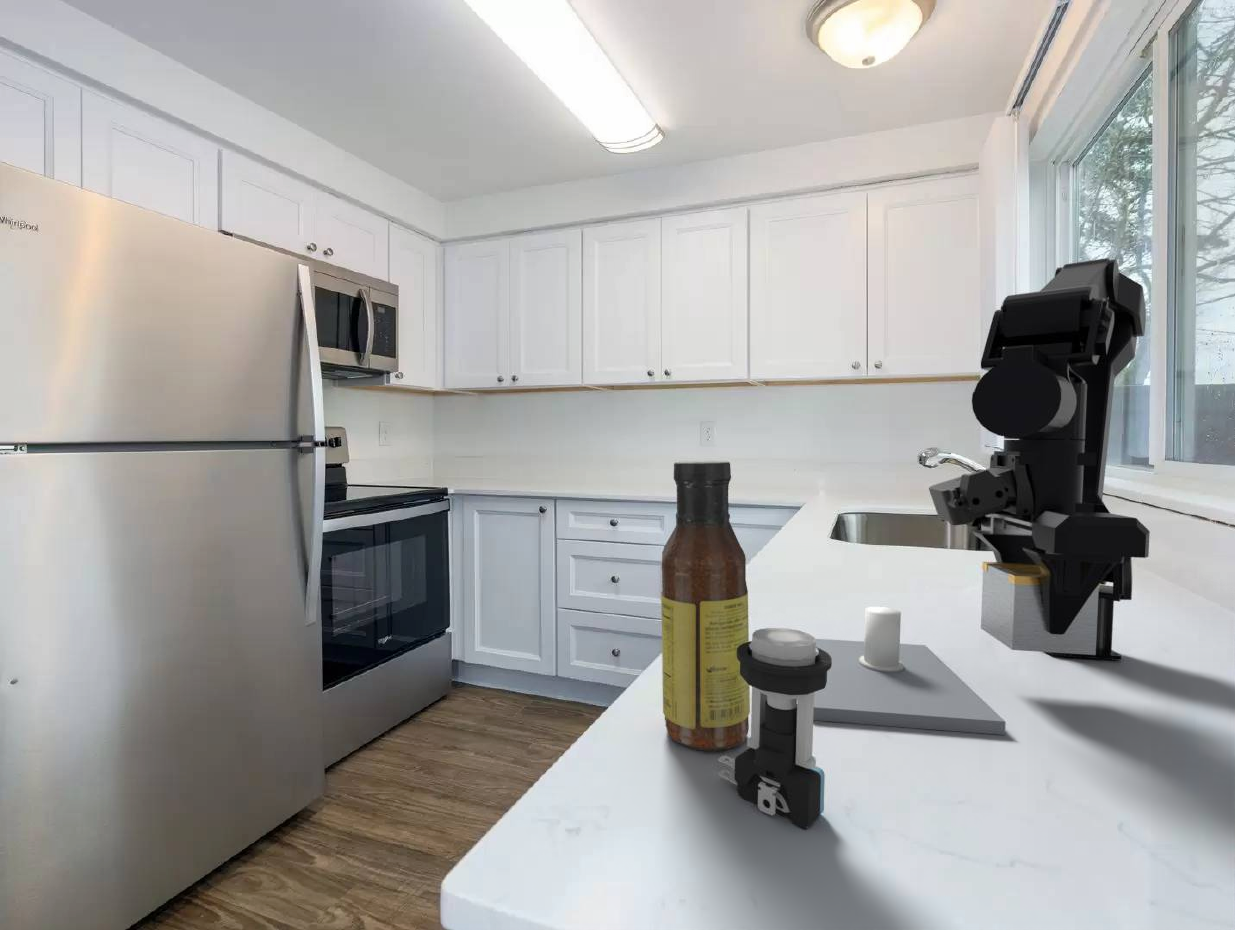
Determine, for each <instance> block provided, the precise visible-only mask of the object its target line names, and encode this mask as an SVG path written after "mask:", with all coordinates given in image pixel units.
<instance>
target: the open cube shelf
mask: <svg viewBox="0 0 1235 930" xmlns="http://www.w3.org/2000/svg"><path fill="white" fill-rule="evenodd" d="M981 564H982V567H981V569H982V588H981V589H982V590H981V591H982V592H981V612H980V613H981V614H980V616H981V617H980V629H981V630H983V631H984V632H985V633H987V634H988V635H990V636H991V637H993V639H995V640H997V641H999V642H1000V643H1002V644H1003V645H1005V647H1007V648H1009V649H1010V650H1011V651H1023V652H1025V651H1027V652H1041V653H1048V652H1055V653H1071V654H1088V655H1096V636H1097V614H1098V592H1099V588H1100V585H1101V584H1099V585H1098V586H1097V587H1096V589H1095V590H1094V591H1093V593H1092V594H1091V596H1090V597H1089V598H1088V600H1087V601H1086V603H1085V604H1084V606H1083V607H1082V609H1081V610H1080V612H1079V613H1078V614H1077V616H1076V617H1075V619H1074V620H1073V622H1072V623H1071V625H1070V626H1069V628H1068V629H1067V631H1066V632H1065V633H1064V634H1062V635H1059V634H1051V633H1049V632H1048V631H1047V625H1046V619H1045V611H1044V600H1043V590H1042V579H1041V570H1040V568H1039V566H1038V565H1037V564H1026V563H1002V562H996V561H982V563H981Z"/></svg>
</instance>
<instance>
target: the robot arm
mask: <svg viewBox="0 0 1235 930" xmlns="http://www.w3.org/2000/svg"><path fill="white" fill-rule="evenodd" d="M1146 311H1147V310H1146V301H1145V294H1144V288H1143V286H1142V285H1141V284H1140V283H1138V281H1135V280H1133V279H1132V278H1130V277H1128V276H1126V275H1124V274H1122V273H1121V272H1120V270H1119V265H1118V260H1117V259H1116V258H1115V259H1109V258H1108V257H1107V258H1099V259H1093V260H1092V259H1091V260H1085V261H1078V262H1073V263H1066V264H1064V265H1062V266H1061V267H1056V269H1055V272H1054V276H1053V278H1052V279H1051V280H1050V281H1049V282H1047V284H1046V285H1044V287H1042V289H1040V290H1038V291H1032V292H1023V293H1019V294H1017V293H1016V294H1011V295H1010V294H1009V295H1007V296H1006V297H1005V298H1004V299H1003V301H1002V302H1001V305H1000V309H996V310H995V311H994V313H993V316H992V320H991V324H990V327H989V331H988V335H987V338H986V342H985V345H984V348H983V349H984V350H983V352H982V357H981V360H980V368H981V369H982V370H984V371H987V372H985V374H983V375H982V376H981V378H980V379H979V380H978V382H977V384H976V386H975V388H974V391H973V392H972V394H971V395H972V396H971V405H972V406H971V407H972V412H973V414H974V417H975V419H976V420H977V421H978V422H979V424H980V425H981V426H982V427H983V428H984V429H986V430H987V431H989V432H990V433H991V434H994V435H997V436H998V437H1003V450H1002V451H1001V450H1000V451H999V450H993V454H991V455H990V457H989V459H990V461H989V468H986V469H977V470H976V471H975V472H972V473H971V472H970V473H963V474H961V476H957V477H955V478H952V479H949V480H946V481H942V482H939V483H936V484H932V485H931V486H929V487H928V490H929V493H930V494H929V495H930V497H931V498H932V502H933V506H934V507H935V508H934V509H935V510H936V514H937V517H938V519H939V521H940V522H945V521H946V522H948V523H949V525H951V526H962V525H966V526H968V527H979V525H980V526H981V527H980V528H981V529H978V530H977V529H976V530H975V529H974V530H972V533H973V535H974V536H975V537H977V538H979V539H980V540H981V541H982V542H983V543H984V544H985V545H987V546H988V548H990V549H991V551H992V553H993V555H994V557H995V562H1002V563H1026V564H1037V565H1038V566H1039V568H1040V570H1041V579H1042V590H1043V600H1044V611H1045V619H1046V625H1047V631H1048V632H1049V633H1051V634H1059V635H1062V634H1064V633H1065V632H1066V631H1067V629H1068V628H1069V626H1070V625H1071V623H1072V622H1073V620H1074V619H1075V617H1076V616H1077V614H1078V613H1079V612H1080V610H1081V609H1082V607H1083V606H1084V604H1085V603H1086V601H1087V600H1088V598H1089V597H1090V596H1091V594H1092V593H1093V591H1094V590H1095V589H1096V587H1097V586H1098V585H1099V584H1100V588H1099V592H1098V614H1097V636H1096V655H1088V654H1071V653H1055V652H1047V654H1050V656H1055V657H1066V658H1067V657H1068V658H1069V657H1070V658H1083V659H1084V658H1085V659H1098V660H1099V659H1100V660H1122V654H1120V653H1119V652H1117V651H1115V650H1113V649H1112V647H1113V629H1114V627H1113V626H1114V608H1115V607H1114V606H1115V602H1121V601H1131V600H1132V599H1133V597H1132V596H1133V566H1132V565H1133V563H1132V558H1139V559H1140V558H1141V559H1146V558H1149V557H1150V554H1149V553H1150V552H1149V551H1150V549H1149V548H1150V533H1151V532H1150V530H1149V529H1148V528H1147V527H1146V526H1145V525H1144V524H1143V523H1142V522H1141V521H1140V520H1139V519H1138V518H1137V517H1134V516H1133V517H1131V516H1125V515H1122V514H1116V513H1115V514H1114V513H1111V512H1110V511H1109V509H1108V508H1107V506H1106V505H1105V503H1104V501H1103V497H1104V494H1103V493H1104V485H1105V476H1106V475H1105V474H1106V467H1107V466H1106V465H1107V456H1108V449H1109V448H1108V447H1109V439H1110V427H1111V420H1112V419H1111V418H1112V417H1111V416H1112V408H1113V397H1114V396H1113V395H1114V388H1115V381H1116V380H1115V379H1116V377H1117V376H1118V375H1119V374H1120V373H1121V372H1122V371H1123V370H1124V369H1125V368H1126V367H1127V366H1128V365H1129V364H1130V363H1131V362H1132V361H1133V360H1134V358H1135V356H1136V351H1137V342H1138V338H1139V337H1144V336H1145V333H1146V322H1147V321H1146V319H1147V315H1146V314H1147V312H1146ZM1107 583H1111V584H1112V585H1107Z"/></svg>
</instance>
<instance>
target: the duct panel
mask: <svg viewBox="0 0 1235 930" xmlns="http://www.w3.org/2000/svg"><path fill="white" fill-rule="evenodd" d="M864 615H865V617H864V640H863V641H861V640H845V639H844V640H843V639H829V638H826V639H825V638H815V639H816V647H817V648H820V649H822V650H824V651H825V652H827V653H828V654H829V655H830V656H831V658H832V666H831V668H830V669H829V670H828V671H827V683H826V686H825V688H824V689H821V690H819V691H816V692H814V711H813V721H822V722H834V723H846V724H861V725H862V724H863V725H873V726H886V727H897V728H898V727H899V728H909V729H910V728H911V729H922V730H923V729H924V730H937V731H946V732H947V731H949V732H960V733H963V732H964V733H974V734H975V733H976V734H986V735H987V734H988V735H1000V736H1001V735H1002V736H1005V735H1006V721H1005V719H1004V718H1003V717H1001V716H1000V715H999V714H998V713H997V712H996V711H995V710H994V709H993V708H992V707H991V706H990V705H988V703H987V702H985V700H983V698H981V697H980V696H979V695H978V694H977V693H976V692H975V691H974V690H973V689H972V688H971V687H970V686H969V685H968V684H967V683H966V682H964V681H963V679H962V678H960V677H959V676H958V675H957V674H956V673H955V672H954V671H953V670H952V669H951V668H950V667H949V666H948V665H947V664H946V663H944V661H942V660H941V659H940V658H939V657H938V656H937V654H935V653H934V652H933V651H932V650H931V649H930V648H929V647H928V646H926V645H925V644H909V643H901V617H902V613H901V611H900V610H898V609H894V608H890V607H884V606H883V607H882V606H868V607H866V608H865V612H864Z"/></svg>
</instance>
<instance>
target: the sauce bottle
mask: <svg viewBox="0 0 1235 930" xmlns="http://www.w3.org/2000/svg"><path fill="white" fill-rule="evenodd" d="M731 473H732V472H731V462H730V461H727V460H682V461H681V460H679V461H676V462H674V463H673V480H674V482H675V485H676V513H675V521H676V522H675V523H676V525H675V527H674V529H673V531H672V532H671V534H670V536H669V537H668V539H667V541H666V543H665V545H664V546H663V550H662V552H661V577H662V578H661V579H662V580H661V584H662V586H661V587H662V588H661V589H662V590H661V592H660V600H661V601H660V605H661V607H660V609H661V613H660V614H661V646H662V647H661V650H662V652H661V654H662V655H661V657H662V658H661V660H662V661H661V663H662V714H663V715H664V721H665V722H664V723H665V727H666V731H667V733H668V736H669V737H670V738H671V739H672V740H673V742H674V743H677V744H678V743H679V744H681V745H685V746H686V747H691V748H693V749H695V750H700V751H721V750H723V751H725V750H728V749H732V748H735V747H737V746H739V745H741V744H742V743H743V742H744V741H745V740H747V736H748V734H749V728H750V727H749V725H750V723H749V721H750V720H749V715H750V714H751V713H750V712H751V705H750V704H751V698H750V697H751V696H750V689H751V688H750V687H751V686H750V685H749V684H748V683H747V682H746V681H745V680H744V679H743V677H742V676H741V675H740V661H739V660H738V659H737V648H738V647H739V646H740V645H741V644H743V643H746V642H750V641H749V640H750V639H749V635H750V634H749V627H750V626H749V590H748V586H747V580H746V578H747V577H746V575H747V573H746V570H747V569H746V567H747V566H746V564H747V563H746V561H747V560H746V559H747V557H746V554H745V552H744V550H743V548H742V545H741V544H740V542H739V540H738V538H737V536H736V533H735V531H734V529H733V526H732V525H731V522H730V518H731V515H730V513H729V511H730V509H729V505H730V504H729V485H730V481H731V479H732V474H731Z"/></svg>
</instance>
